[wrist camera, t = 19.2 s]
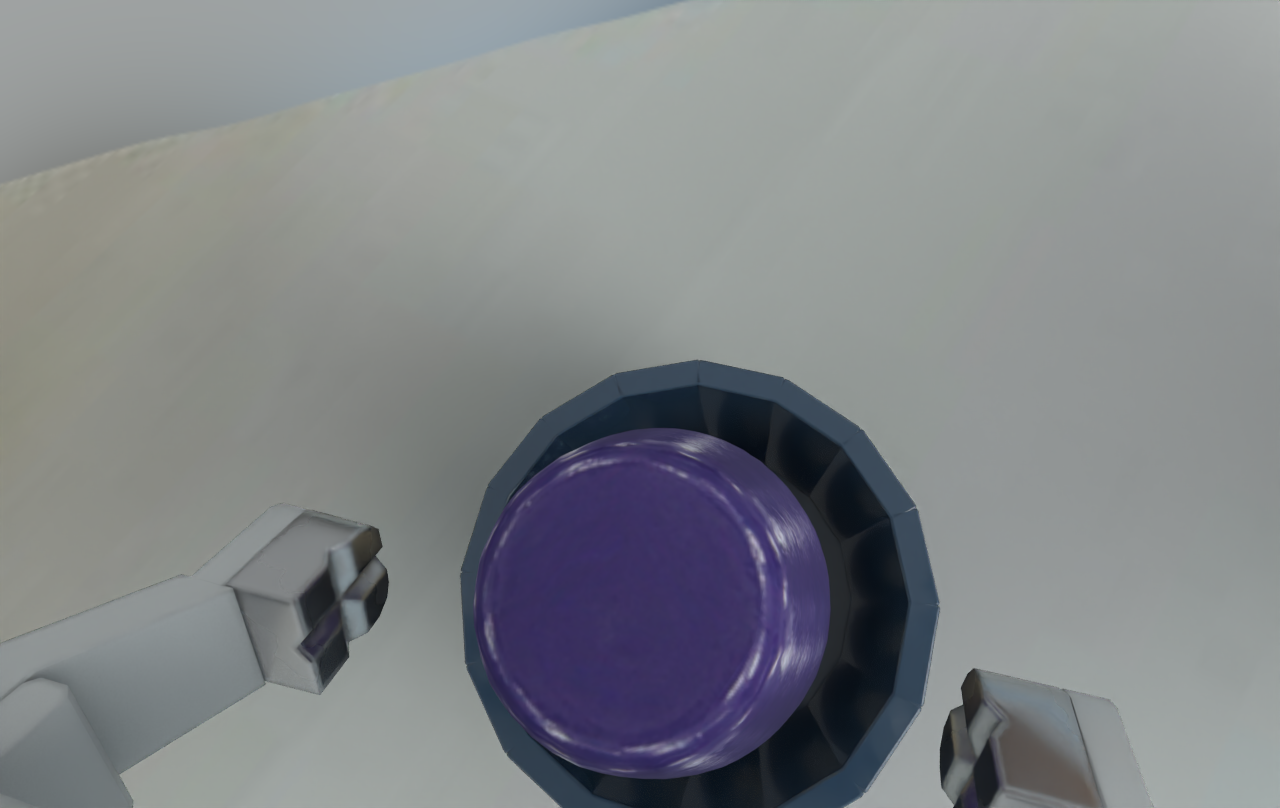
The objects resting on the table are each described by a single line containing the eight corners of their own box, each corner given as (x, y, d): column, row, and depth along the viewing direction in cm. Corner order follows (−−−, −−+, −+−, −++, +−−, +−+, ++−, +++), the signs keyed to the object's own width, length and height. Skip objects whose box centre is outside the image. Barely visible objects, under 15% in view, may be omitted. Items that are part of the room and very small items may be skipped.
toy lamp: (793, 533, 22) (908, 384, 6) (769, 686, 21) (839, 962, 5) (645, 505, 23) (427, 313, 7) (616, 651, 22) (287, 799, 6)
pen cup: (829, 423, 24) (876, 329, 16) (894, 734, 21) (993, 829, 13) (551, 466, 25) (449, 400, 17) (579, 768, 22) (475, 877, 14)
